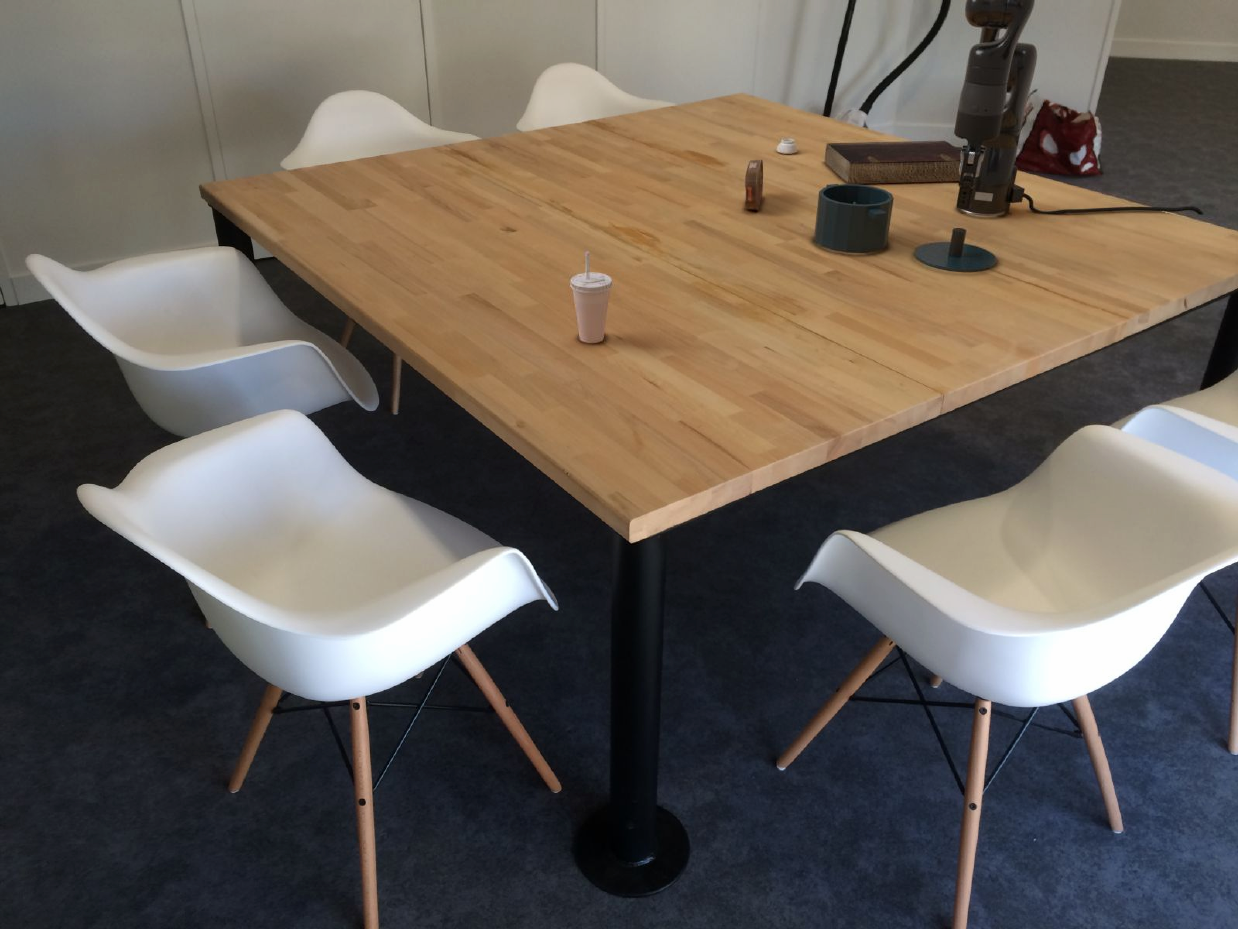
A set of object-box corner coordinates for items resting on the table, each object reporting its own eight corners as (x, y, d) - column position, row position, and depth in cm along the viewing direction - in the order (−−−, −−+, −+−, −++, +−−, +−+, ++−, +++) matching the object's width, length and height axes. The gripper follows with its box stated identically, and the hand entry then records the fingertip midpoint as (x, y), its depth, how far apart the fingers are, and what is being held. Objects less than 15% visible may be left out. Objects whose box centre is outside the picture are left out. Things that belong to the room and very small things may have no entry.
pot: (857, 224, 214) (863, 177, 209) (907, 256, 198) (914, 206, 193) (796, 230, 210) (800, 183, 205) (841, 263, 195) (847, 212, 190)
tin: (756, 215, 218) (759, 174, 214) (741, 214, 219) (744, 173, 215) (763, 194, 231) (766, 155, 227) (748, 193, 232) (751, 154, 227)
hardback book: (941, 159, 256) (944, 138, 253) (972, 182, 240) (976, 159, 238) (824, 162, 253) (826, 141, 250) (847, 185, 237) (850, 162, 235)
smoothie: (570, 330, 168) (568, 245, 161) (610, 329, 169) (610, 244, 161) (572, 347, 163) (570, 259, 155) (613, 346, 163) (614, 258, 156)
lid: (965, 244, 204) (971, 214, 201) (1011, 270, 192) (1018, 238, 189) (898, 251, 201) (903, 220, 197) (941, 278, 189) (946, 246, 186)
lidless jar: (801, 152, 261) (785, 148, 264) (802, 140, 259) (786, 136, 262) (788, 155, 258) (772, 151, 261) (789, 143, 256) (773, 139, 259)
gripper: (1002, 119, 176) (983, 215, 184) (1005, 102, 187) (987, 193, 195) (955, 115, 178) (939, 210, 186) (961, 98, 189) (945, 189, 198)
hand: (964, 201), depth 191 cm, fingers open, 8 cm apart
